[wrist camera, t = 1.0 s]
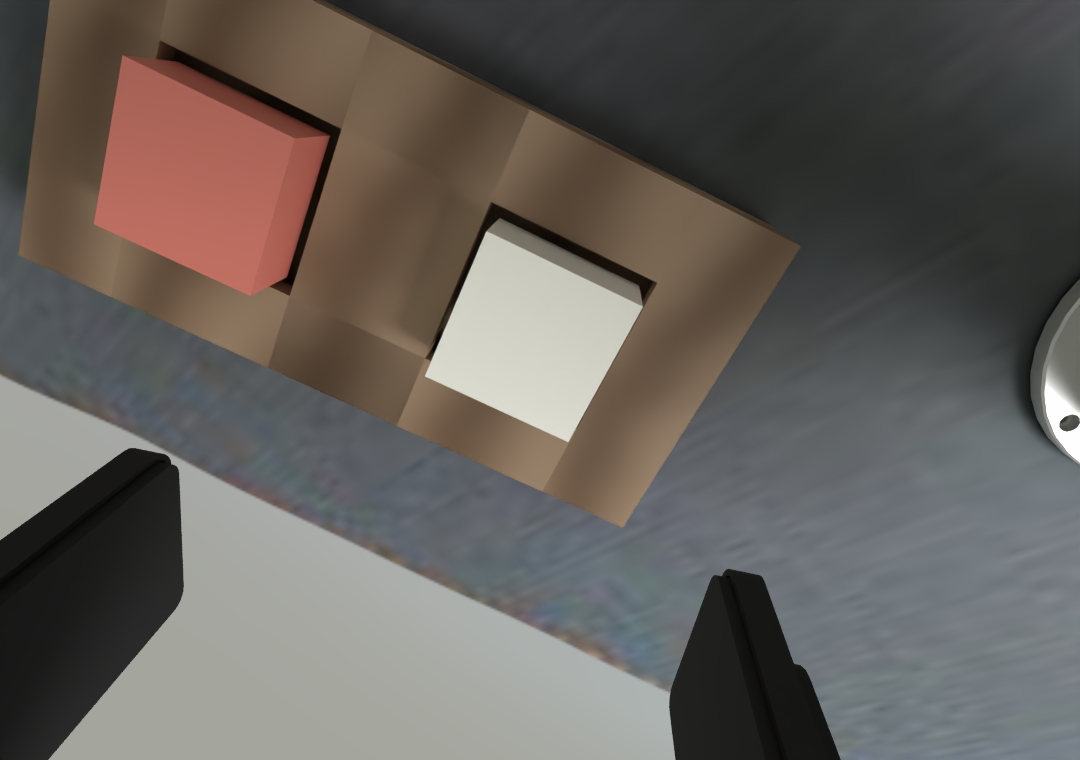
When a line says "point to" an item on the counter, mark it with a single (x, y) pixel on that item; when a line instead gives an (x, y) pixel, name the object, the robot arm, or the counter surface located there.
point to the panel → (407, 231)
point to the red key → (206, 174)
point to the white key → (534, 330)
